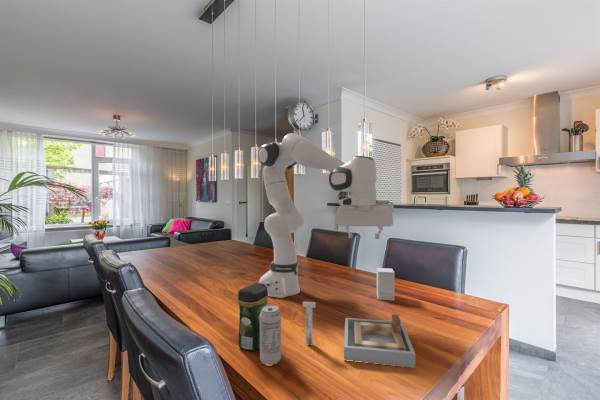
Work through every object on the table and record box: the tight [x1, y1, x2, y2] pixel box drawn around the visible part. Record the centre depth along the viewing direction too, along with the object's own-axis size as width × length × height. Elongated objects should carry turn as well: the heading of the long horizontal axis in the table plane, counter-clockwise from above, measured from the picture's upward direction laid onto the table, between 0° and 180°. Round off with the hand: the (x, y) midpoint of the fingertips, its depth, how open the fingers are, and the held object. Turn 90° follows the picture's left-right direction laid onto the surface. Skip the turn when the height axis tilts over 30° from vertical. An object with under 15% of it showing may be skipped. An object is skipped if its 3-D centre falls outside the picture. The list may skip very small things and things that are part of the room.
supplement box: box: [376, 267, 396, 302], centre depth 126 cm, size 7×7×13 cm
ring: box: [354, 313, 406, 351], centre depth 85 cm, size 14×14×7 cm
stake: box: [302, 301, 317, 345], centre depth 86 cm, size 4×2×13 cm, turn 80°
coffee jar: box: [237, 281, 269, 351], centre depth 87 cm, size 10×8×19 cm
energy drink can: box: [259, 304, 282, 364], centre depth 78 cm, size 6×6×15 cm
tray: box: [343, 317, 416, 369], centre depth 85 cm, size 19×19×4 cm
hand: (363, 238), depth 100 cm, fingers open, 8 cm apart
